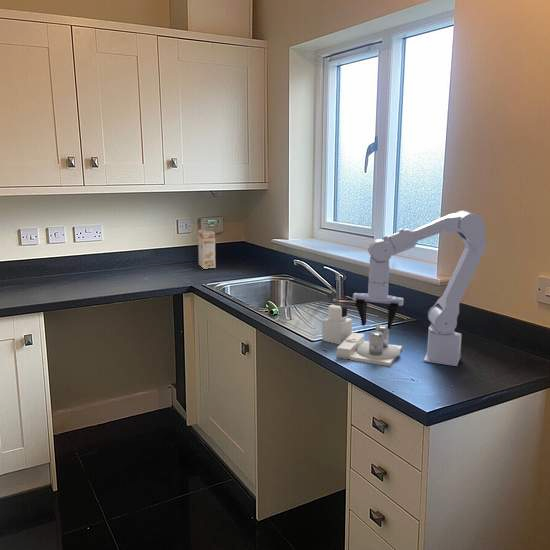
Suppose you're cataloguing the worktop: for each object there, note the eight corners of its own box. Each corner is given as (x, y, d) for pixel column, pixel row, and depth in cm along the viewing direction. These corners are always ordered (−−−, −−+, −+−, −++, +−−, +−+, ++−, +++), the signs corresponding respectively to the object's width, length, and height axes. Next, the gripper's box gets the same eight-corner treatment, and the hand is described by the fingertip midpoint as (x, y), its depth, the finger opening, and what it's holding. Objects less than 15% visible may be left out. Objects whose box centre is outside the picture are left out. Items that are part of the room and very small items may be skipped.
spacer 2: (390, 345, 173) (391, 327, 172) (383, 348, 170) (383, 329, 169) (380, 342, 176) (380, 324, 175) (372, 345, 173) (373, 326, 172)
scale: (405, 349, 174) (405, 338, 174) (393, 366, 160) (394, 355, 159) (352, 341, 181) (352, 331, 181) (336, 357, 167) (337, 346, 166)
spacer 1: (384, 352, 167) (385, 333, 166) (379, 356, 164) (380, 336, 162) (372, 349, 169) (372, 331, 168) (366, 353, 166) (367, 334, 165)
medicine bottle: (333, 335, 188) (334, 300, 185) (352, 339, 183) (353, 304, 181) (321, 340, 182) (322, 305, 180) (340, 345, 178) (341, 309, 175)
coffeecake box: (216, 269, 294) (215, 232, 290) (202, 270, 292) (201, 233, 288) (211, 264, 308) (210, 229, 304) (198, 264, 306) (197, 229, 302)
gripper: (406, 280, 163) (404, 325, 165) (358, 276, 168) (356, 319, 171) (401, 286, 156) (399, 332, 159) (351, 281, 162) (349, 326, 165)
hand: (376, 326), depth 165 cm, fingers open, 7 cm apart
